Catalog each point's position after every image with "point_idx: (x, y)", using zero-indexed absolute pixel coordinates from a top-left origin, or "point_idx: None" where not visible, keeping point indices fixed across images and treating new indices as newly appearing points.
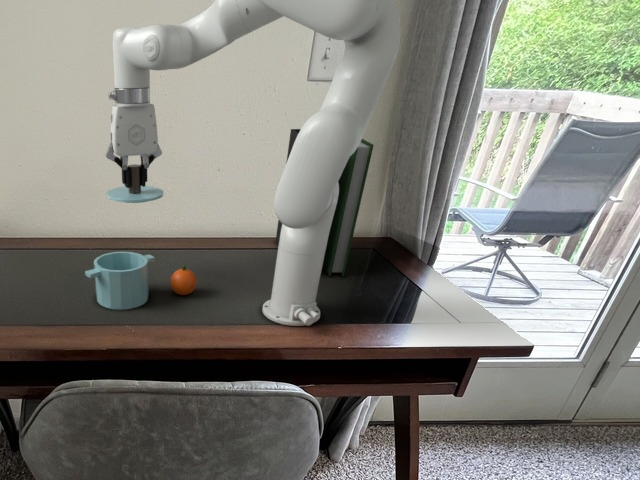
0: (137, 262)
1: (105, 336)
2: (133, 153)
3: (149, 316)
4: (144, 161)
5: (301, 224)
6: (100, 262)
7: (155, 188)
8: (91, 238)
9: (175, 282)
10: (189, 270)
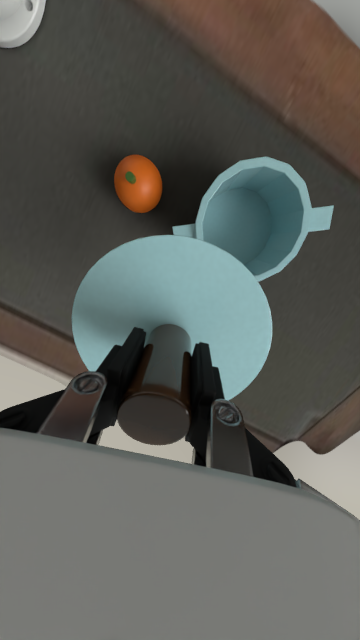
0: None
1: (340, 96)
2: (190, 480)
3: (235, 134)
4: (88, 408)
5: None
6: (269, 266)
7: (86, 349)
8: None
9: (158, 175)
10: (122, 174)
